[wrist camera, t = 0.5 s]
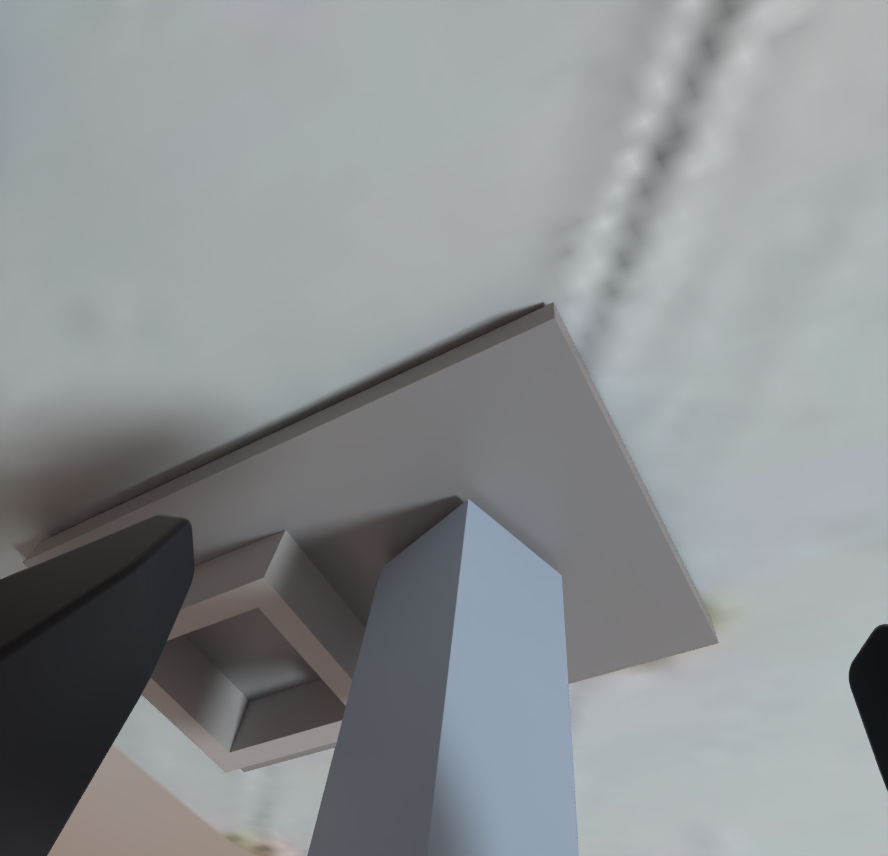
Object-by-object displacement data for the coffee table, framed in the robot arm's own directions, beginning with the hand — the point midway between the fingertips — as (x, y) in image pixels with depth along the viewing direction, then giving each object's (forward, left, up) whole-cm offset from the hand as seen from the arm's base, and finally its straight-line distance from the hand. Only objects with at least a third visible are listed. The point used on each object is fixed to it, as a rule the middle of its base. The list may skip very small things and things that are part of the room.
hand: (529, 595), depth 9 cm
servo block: (+1, -10, -11) cm, 15 cm away
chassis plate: (-3, -13, -13) cm, 19 cm away
